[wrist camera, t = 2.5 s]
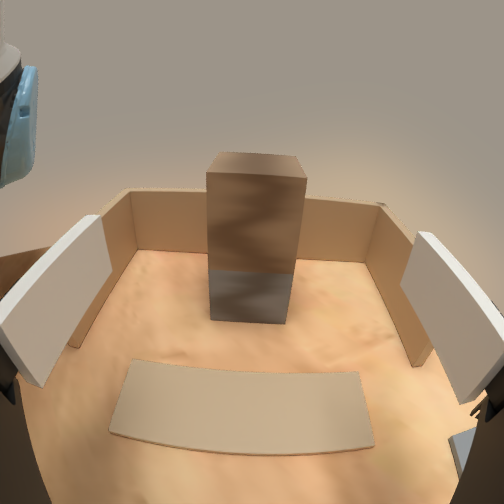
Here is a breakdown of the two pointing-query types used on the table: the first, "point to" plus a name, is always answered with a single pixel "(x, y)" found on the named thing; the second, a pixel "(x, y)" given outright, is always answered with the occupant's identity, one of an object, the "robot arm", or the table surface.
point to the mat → (461, 448)
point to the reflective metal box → (253, 234)
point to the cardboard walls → (253, 383)
